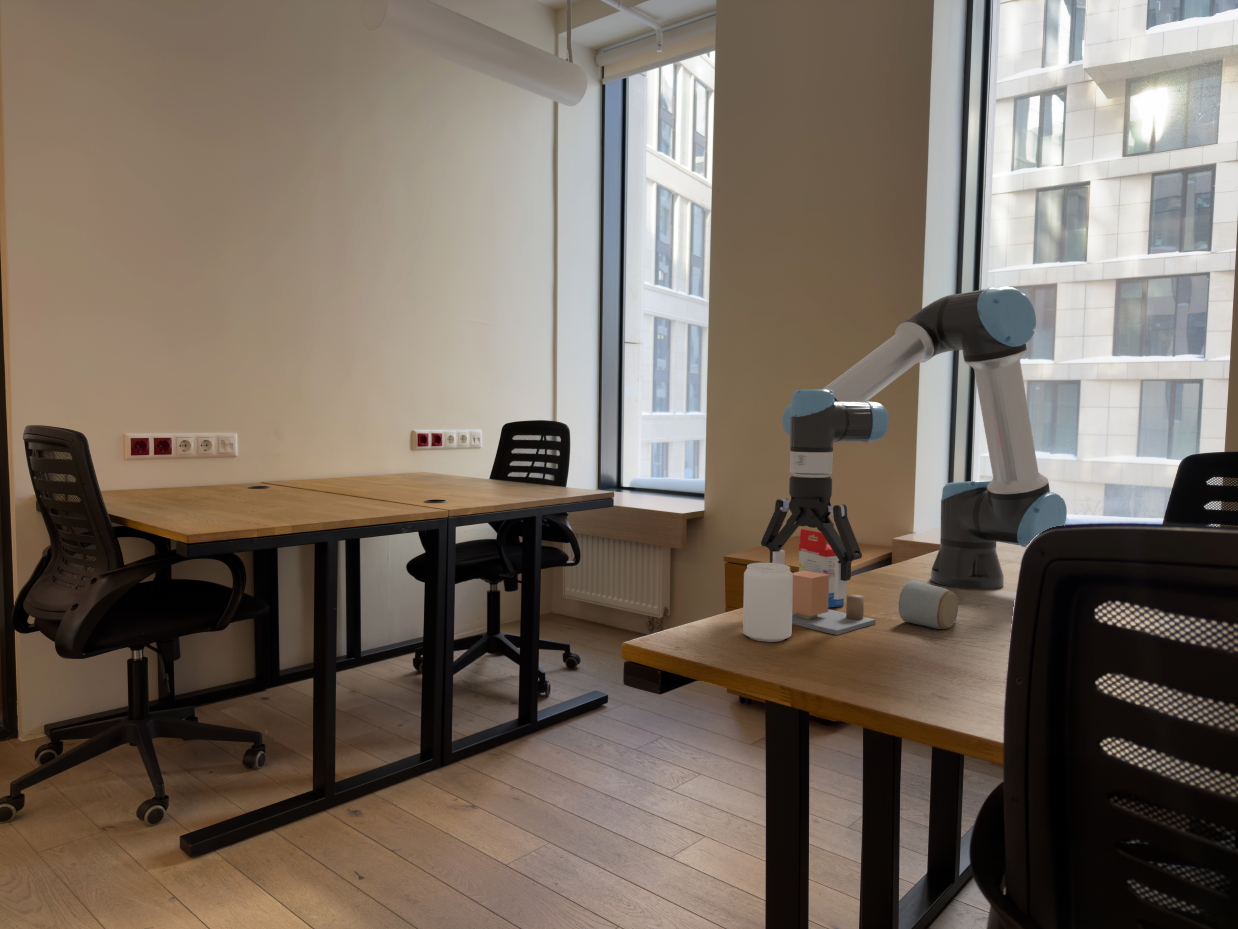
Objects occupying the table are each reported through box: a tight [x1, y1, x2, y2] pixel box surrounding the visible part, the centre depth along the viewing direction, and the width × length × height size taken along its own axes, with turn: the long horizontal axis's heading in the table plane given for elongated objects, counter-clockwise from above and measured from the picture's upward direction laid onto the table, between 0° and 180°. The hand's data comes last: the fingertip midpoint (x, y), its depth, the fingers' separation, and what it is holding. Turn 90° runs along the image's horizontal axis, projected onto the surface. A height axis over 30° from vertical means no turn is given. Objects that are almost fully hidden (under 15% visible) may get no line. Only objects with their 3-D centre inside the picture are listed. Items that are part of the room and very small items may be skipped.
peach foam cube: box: [791, 571, 829, 616], centre depth 148 cm, size 5×5×7 cm
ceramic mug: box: [898, 579, 959, 630], centre depth 147 cm, size 11×8×8 cm
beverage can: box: [742, 562, 793, 643], centre depth 137 cm, size 8×8×12 cm
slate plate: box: [792, 593, 876, 636], centre depth 148 cm, size 12×14×5 cm
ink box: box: [798, 528, 845, 609], centre depth 162 cm, size 8×5×15 cm, turn 27°
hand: (808, 592), depth 148 cm, fingers open, 13 cm apart
